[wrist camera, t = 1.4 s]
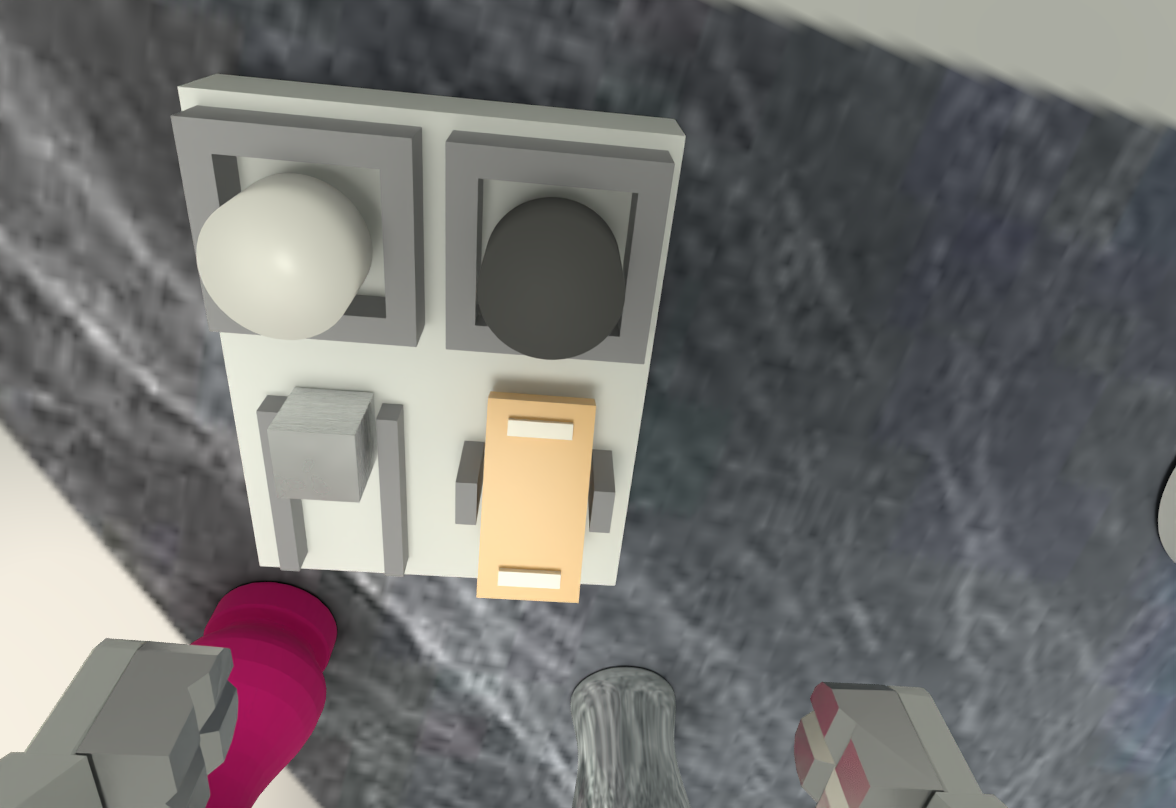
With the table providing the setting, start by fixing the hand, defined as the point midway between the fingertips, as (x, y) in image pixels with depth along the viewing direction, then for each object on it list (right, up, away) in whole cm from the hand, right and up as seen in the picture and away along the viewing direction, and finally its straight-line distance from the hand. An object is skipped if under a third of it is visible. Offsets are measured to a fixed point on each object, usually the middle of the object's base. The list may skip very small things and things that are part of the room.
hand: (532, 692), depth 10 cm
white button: (-8, +9, +13) cm, 18 cm away
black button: (0, +9, +14) cm, 16 cm away
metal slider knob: (-9, +3, +19) cm, 21 cm away
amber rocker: (-1, 0, +19) cm, 19 cm away
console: (-5, +6, +21) cm, 22 cm away
